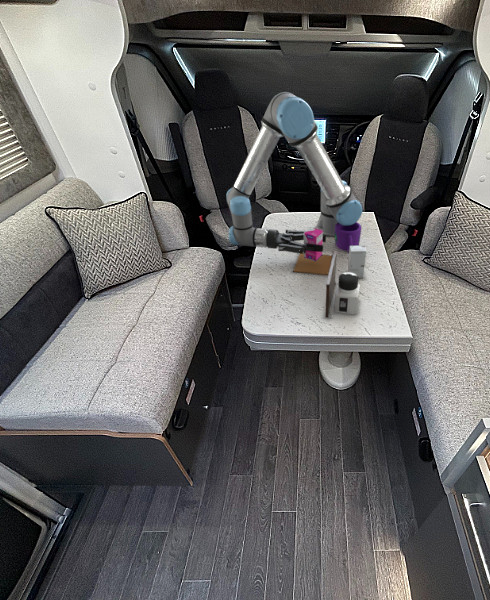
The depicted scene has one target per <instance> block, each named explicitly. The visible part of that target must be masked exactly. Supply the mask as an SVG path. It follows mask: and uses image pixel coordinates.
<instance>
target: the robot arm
mask: <svg viewBox="0 0 490 600" xmlns="http://www.w3.org/2000/svg"><path fill="white" fill-rule="evenodd" d="M260 123H261V127H260V130H259V132H258V133H257V136H256V138H255V140H254V142H253V144H252V145H251V148H250V151H249V153H248V154H247V157H246V159H245V161H244V163H243V165H242V167H241V169H240V172H239V173H238V175H237V177H236V180H235V182H234V184H233V185H232V187H231V188H230V189H228V190H227V192H226V197H225V198H226V203H227V205H228V208H229V212H230V214H231V220H232V226H231V227H229V229H228V240H229V243H230V244H232V245H235V246H241V247H242V246H243V247H255V248H261V249H267V248H268V249H272V250H273V249H274V250H276V249H277V250H278V252H287V253H295V254H299V255H300V254H303V253H306V251H316V252H322V253H323V252H324V244H322V245H317V244H306V245H304V243H301V242H300V241H304V232H305V231H306V230H297V229H296V230H295V229H285V232H279V230H278V229H272V228H270V229H268V228H260V227H254V223H253V215H252V206H251V200H250V197H251V195H252V192H253V191H254V188H255V187H256V185H257V183H258V181H259V179H260V177H261V175H262V174H263V171H264V169H265V167H266V165H267V163H268V162H269V160H270V157H271V156H272V154H273V152H274V150H275V148H276V146H277V144H278V142H279V140H280V138H285V140H286V141H287V143H288V144H289V146H290V147H292V148H296V149H297V151H298V153H299V154H300V156H301V158H302V159H303V161H304V162H305V164H306V166H307V167H308V169H309V171H310V172H311V174H312V176H313V178H314V180H315V181H316V182H317V184H318V186H319V188H320V214H319V218H318V220H317V223H316V229H319V230H323V243H326V242H327V237H335V225H336V224H337V223H340V224H341V225H343V226H350V225H352V224H354V223H356V222H357V223H358V221H359V220H360V218H361V217H362V214H363V206H362V204H361V202H360V201H359V200H358V199H357V198H356V197H355V195H354V192H353V191H352V189H351V186H349V185H348V183H347V182H346V181H345V180H342V179H341V177H340V175H339V172H338V170H337V169H336V168H335V166H334V165H335V164H333V162H332V160H331V158H330V156H329V154H328V152H327V151H326V149H325V147H324V145H323V143H322V141H321V139H320V138H319V136H318V134H317V133H318V129H319V126H318V124H317V122H316V120H315V116H314V113H313V110H312V108H311V106H310V105H309V104H308V102H307V101H305V100H304V99H303V98H301V97H298V96H296V95H294V93H291V92H288V91H283V92H282V91H281V92H280V93H277V94H276V95H274V96H273V97H272V99H271V101H270V102H269V104H268V106H267V108H266V110H265V113H264V115H263V117H262V119H261V120H260ZM298 241H299V242H298Z"/></svg>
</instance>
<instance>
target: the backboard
mask: <svg viewBox="0 0 490 600" xmlns="http://www.w3.org/2000/svg"><path fill="white" fill-rule="evenodd" d="M337 254H338V253H337V251H333V254H332V260H331V264H330V268H329V273H328V275H327V280H326V283H325V314H324V316H325V318H326V319H328V318H329V316H330V311H331V307H332V301H333V297H334V291H335V288H336V287H335V286H336V275H337Z"/></svg>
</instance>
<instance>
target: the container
mask: <svg viewBox="0 0 490 600" xmlns="http://www.w3.org/2000/svg"><path fill="white" fill-rule="evenodd" d="M360 289H361V284H360V283H359V278H358V276H357V275H356V274H354V273H351V272H343V273H341V274H339V276H338V281H337V285H336V289H335V294H334V307H333V310H334V312H335V313H342V314H343V313H344V314H350V315H357V314H358V307H359V298H360Z"/></svg>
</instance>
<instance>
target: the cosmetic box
mask: <svg viewBox="0 0 490 600" xmlns="http://www.w3.org/2000/svg"><path fill="white" fill-rule="evenodd" d="M366 258H367V248H366V245H358V246H350V250H349V253H348V261H347V272H351V273H354V274H356V275H357V276H358V279H362V278H364V274H365V266H366Z"/></svg>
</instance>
